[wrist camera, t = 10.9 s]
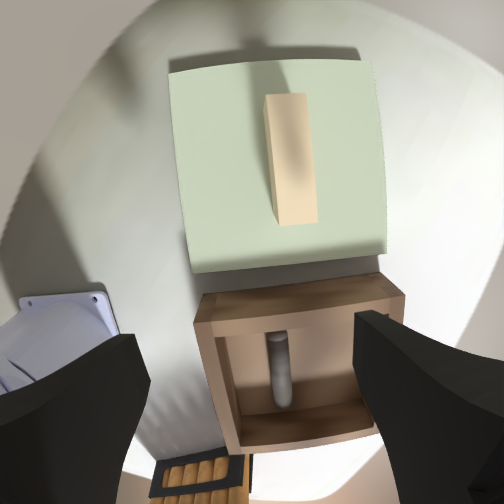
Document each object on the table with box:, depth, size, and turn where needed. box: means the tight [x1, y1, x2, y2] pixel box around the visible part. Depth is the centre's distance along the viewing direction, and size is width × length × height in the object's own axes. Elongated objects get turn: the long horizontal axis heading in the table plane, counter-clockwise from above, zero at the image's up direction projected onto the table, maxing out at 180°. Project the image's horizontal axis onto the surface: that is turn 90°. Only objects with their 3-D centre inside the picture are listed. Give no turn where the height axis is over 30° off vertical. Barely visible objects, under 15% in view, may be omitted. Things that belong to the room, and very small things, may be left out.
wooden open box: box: [193, 272, 405, 455], centre depth 20 cm, size 12×12×4 cm
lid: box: [168, 59, 387, 274], centre depth 16 cm, size 12×12×5 cm
